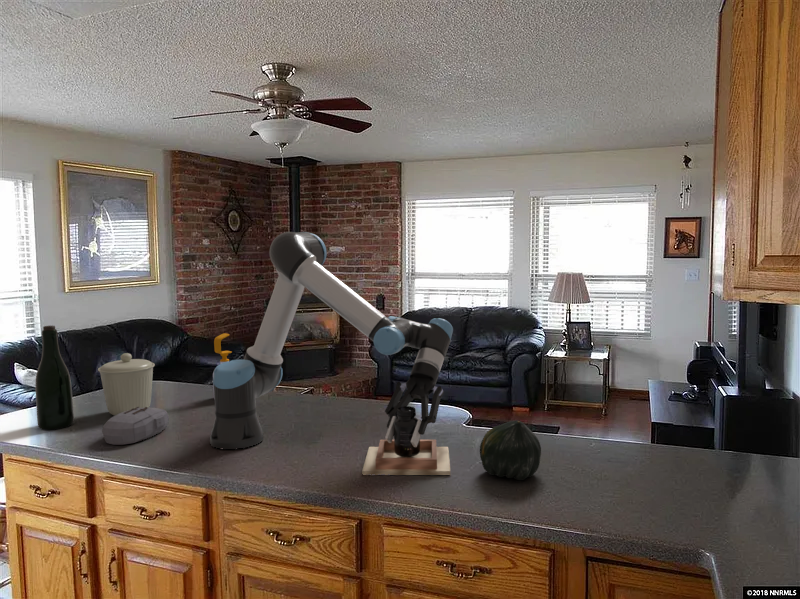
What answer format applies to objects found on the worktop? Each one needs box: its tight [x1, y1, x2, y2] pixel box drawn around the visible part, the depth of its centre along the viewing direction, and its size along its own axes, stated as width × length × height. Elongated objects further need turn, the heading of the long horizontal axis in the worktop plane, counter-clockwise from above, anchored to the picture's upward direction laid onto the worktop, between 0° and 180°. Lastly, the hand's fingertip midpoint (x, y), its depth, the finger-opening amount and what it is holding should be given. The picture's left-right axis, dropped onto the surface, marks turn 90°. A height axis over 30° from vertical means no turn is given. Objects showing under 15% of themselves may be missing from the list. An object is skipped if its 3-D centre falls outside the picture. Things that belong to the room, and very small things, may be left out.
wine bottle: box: [35, 325, 75, 431], centre depth 198 cm, size 10×10×33 cm
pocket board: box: [361, 439, 451, 476], centre depth 161 cm, size 22×18×4 cm
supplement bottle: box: [393, 405, 421, 457], centre depth 161 cm, size 7×7×12 cm
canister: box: [97, 352, 156, 416], centre depth 213 cm, size 18×18×21 cm
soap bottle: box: [212, 332, 233, 400], centre depth 230 cm, size 9×9×25 cm
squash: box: [479, 420, 542, 481], centre depth 151 cm, size 14×15×15 cm
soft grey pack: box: [101, 407, 170, 446], centre depth 187 cm, size 15×8×20 cm
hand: (400, 442), depth 158 cm, fingers closed on supplement bottle, 7 cm apart
